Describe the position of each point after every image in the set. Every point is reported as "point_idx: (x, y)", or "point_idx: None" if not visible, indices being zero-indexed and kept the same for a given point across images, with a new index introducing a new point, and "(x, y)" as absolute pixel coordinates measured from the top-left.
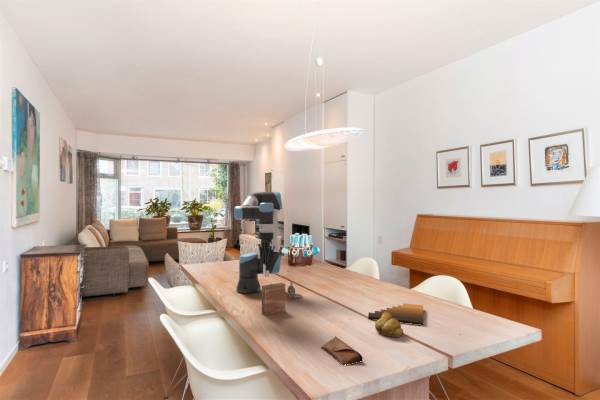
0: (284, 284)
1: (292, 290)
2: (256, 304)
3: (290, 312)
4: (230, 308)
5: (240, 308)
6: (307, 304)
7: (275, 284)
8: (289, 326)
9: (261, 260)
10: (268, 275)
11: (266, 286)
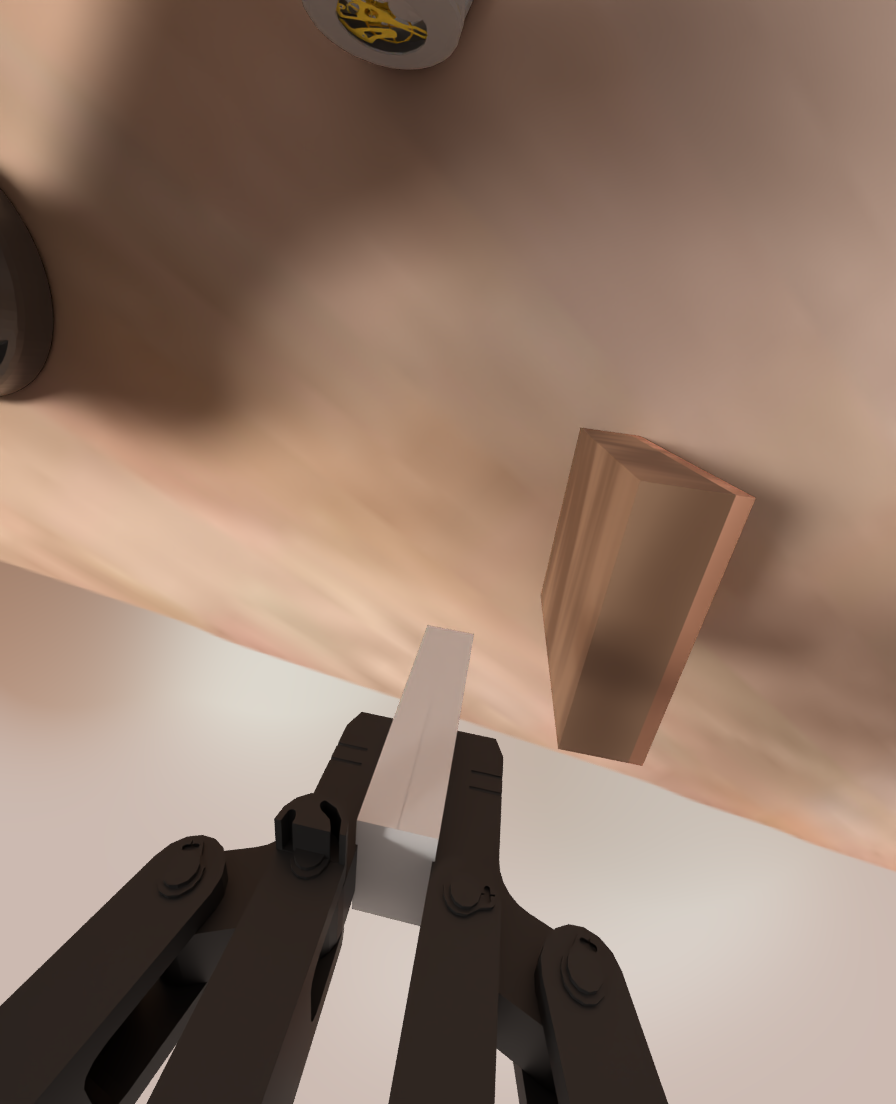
0: (746, 511)
1: (422, 12)
2: (351, 493)
3: (709, 435)
4: (320, 654)
5: (358, 618)
6: (713, 85)
7: (646, 614)
8: (880, 643)
9: (204, 987)
10: (469, 651)
11: (619, 736)
